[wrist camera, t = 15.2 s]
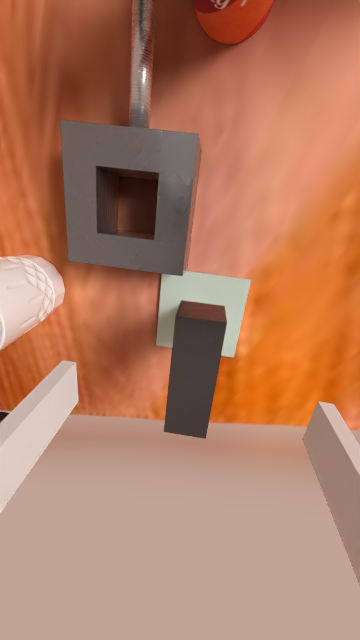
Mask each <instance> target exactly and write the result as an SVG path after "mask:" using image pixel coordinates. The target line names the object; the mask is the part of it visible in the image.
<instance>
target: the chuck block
mask: <svg viewBox="0 0 360 640" xmlns="http://www.w3.org/2000/svg"><path fill="white" fill-rule="evenodd" d="M155 13H156V0H132V30H131V67H130V104H129V127H126V126H116V125H106V124H96V123H86V122H76V121H66V120H60V128H61V145H62V162H63V179H64V196H65V213H66V230H67V247H68V261H73V262H81V263H88V264H95V265H103V266H110V267H117V268H125V269H132V270H139V271H147V272H154V273H162V274H169V275H176V276H183V274H184V272H185V270H186V268H187V266H188V258H189V250H190V242H191V234H192V225H193V217H194V209H195V201H196V193H197V184H198V176H199V168H200V160H201V152H202V151H201V144H200V137H199V134H196V133H186V132H176V131H166V130H156V129H149V126H150V107H151V88H152V70H153V51H154V32H155ZM118 176H125V177H134V178H143V179H152V180H158V195H157V209H156V224H155V235H152V234H144V233H136V232H128V231H120V230H118Z"/></svg>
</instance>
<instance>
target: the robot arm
mask: <svg viewBox="0 0 360 640" xmlns="http://www.w3.org/2000/svg"><path fill="white" fill-rule="evenodd" d="M78 401H79V400H78V385H77V371H76V362H71V361H64V360H62V361H61V362H60V363H59V364H58V365H57V366H56V367H55V368H54V369H53V370H52V371H51V372H50V373H49V374H48V375H47V376H46V377H45V378H44V379H43V380H42V381H41V382H40V383H39V384H38V385H37V386H36V387H35V388H34V389H33V390H32V391H31V392H30V393H29V394H28V395H27V396H26V397H25V398H24V399H23V400H22V401H21V402H20V403H19V404H18V405H17V406H16V407H15V408H14V410H13V411H12V412H11V413H6V412H0V513H1V511H2V510H3V509H4V507H5V506H6V504H7V503H8V501H9V500H10V499H11V497H12V496H13V494H14V493H15V491H16V490H17V489H18V487H19V485H20V484H21V483H22V481H23V480H24V478H25V477H26V476H27V474H28V473H29V471H30V470H31V469H32V467H33V466H34V464H35V463H36V461H37V460H38V459H39V457H40V455H41V454H42V453H43V451H44V450H45V448H46V447H47V446H48V444H49V443H50V441H51V440H52V438H53V437H54V436H55V434H56V433H57V431H58V430H59V428H60V427H61V425H62V424H63V423H64V421H65V420H66V418H67V417H68V416H69V414H70V413H71V411H72V410H73V408H74V407H75V406H76V404H77V403H78ZM302 440H303V442H304V445H305V447H306V449H307V453H308V455H309V458H310V460H311V463H312V465H313V468H314V470H315V473H316V475H317V478H318V480H319V483H320V486H321V488H322V491H323V493H324V496H325V498H326V501H327V503H328V506H329V508H330V511H331V513H332V516H333V519H334V521H335V523H336V526H337V529H338V531H339V534H340V536H341V539H342V541H343V543H344V546H345V549H346V551H347V554H348V557H349V559H350V562H351V564H352V567H353V569H354V572H355V574H356V577H357V580H358V582H359V584H360V446H359V444H358V442H357V441H356V439H355V437H354V436H353V434H352V433H351V431H350V429H349V428H348V426H347V425H346V423H345V421H344V420H343V418H342V417H341V415H340V414H339V412H338V410H337V409H336V407H335V406H334V404H331V403H325V402H318V404H317V406H316V408H315V411H314V413H313V415H312V418H311V420H310V423H309V425H308V427H307V430H306V432H305V434H304V437H303V439H302Z"/></svg>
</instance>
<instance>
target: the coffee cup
mask: <svg viewBox="0 0 360 640" xmlns="http://www.w3.org/2000/svg"><path fill="white" fill-rule="evenodd" d="M274 1H275V0H193V4H194V8H195V12H196V15H197V18H198V21H199V23H200V25H201V27H202V28H203V30H204V31H205V32H206V34H207V35H208V36H209V37H211V38H212V39H213V40H215V41H217V42H219V43H223V44H236V43H239V42H242V41H244V40H246V39H248V38H249V37H251V36H252V35H253V34H254V33H255V32H256V31H257V30H258V29H259V28H260V27H261V25H262V24H263V23H264V21H265V20H266V18H267V16H268V14H269V12H270V10H271V8H272V6H273V4H274Z"/></svg>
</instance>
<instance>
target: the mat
mask: <svg viewBox="0 0 360 640" xmlns="http://www.w3.org/2000/svg"><path fill="white" fill-rule="evenodd" d="M250 282H251V279H245V278H238V277H230V276H223V275H215V274H208V273H201V272H193V271H186V270H185V272H184V274H183V276H176V275H169V274H162V279H161V291H160V303H159V315H158V327H157V339H156V346H162V347H169V348H172V346H173V336H174V326H175V316H176V313H177V310H178V307H179V305H180V302H181V300H183V301H191V302H199V303H206V304H214V305H222V306H225V312H226V318H227V326H226V332H225V337H224V342H223V348H222V353H221V356H227V357H234V354H235V349H236V345H237V340H238V336H239V332H240V327H241V323H242V318H243V314H244V309H245V305H246V300H247V296H248V291H249V287H250Z"/></svg>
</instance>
